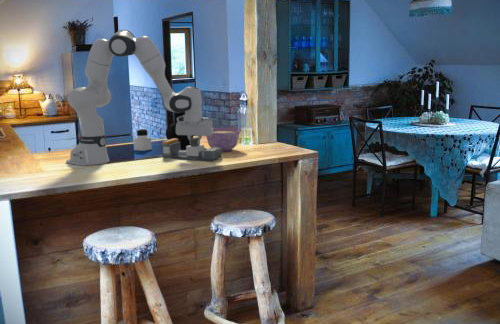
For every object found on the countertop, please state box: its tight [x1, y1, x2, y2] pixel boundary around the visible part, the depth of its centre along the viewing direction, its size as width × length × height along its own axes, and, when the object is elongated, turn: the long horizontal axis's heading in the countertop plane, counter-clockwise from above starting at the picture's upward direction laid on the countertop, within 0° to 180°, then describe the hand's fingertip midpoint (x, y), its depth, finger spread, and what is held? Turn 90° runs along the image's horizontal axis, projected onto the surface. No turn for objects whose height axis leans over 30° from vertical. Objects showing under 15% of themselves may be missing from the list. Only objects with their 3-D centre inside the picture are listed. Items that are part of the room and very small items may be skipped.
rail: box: [161, 141, 222, 163], centre depth 262 cm, size 30×10×8 cm, turn 67°
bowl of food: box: [205, 127, 241, 153], centre depth 282 cm, size 20×20×12 cm
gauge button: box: [162, 138, 178, 144], centre depth 267 cm, size 3×11×1 cm, turn 157°
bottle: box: [165, 111, 194, 148], centre depth 298 cm, size 16×16×30 cm
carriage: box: [185, 136, 205, 156], centre depth 261 cm, size 7×7×9 cm
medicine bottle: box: [133, 128, 153, 152], centre depth 288 cm, size 7×7×12 cm
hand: (194, 143), depth 261 cm, fingers closed on carriage, 2 cm apart
